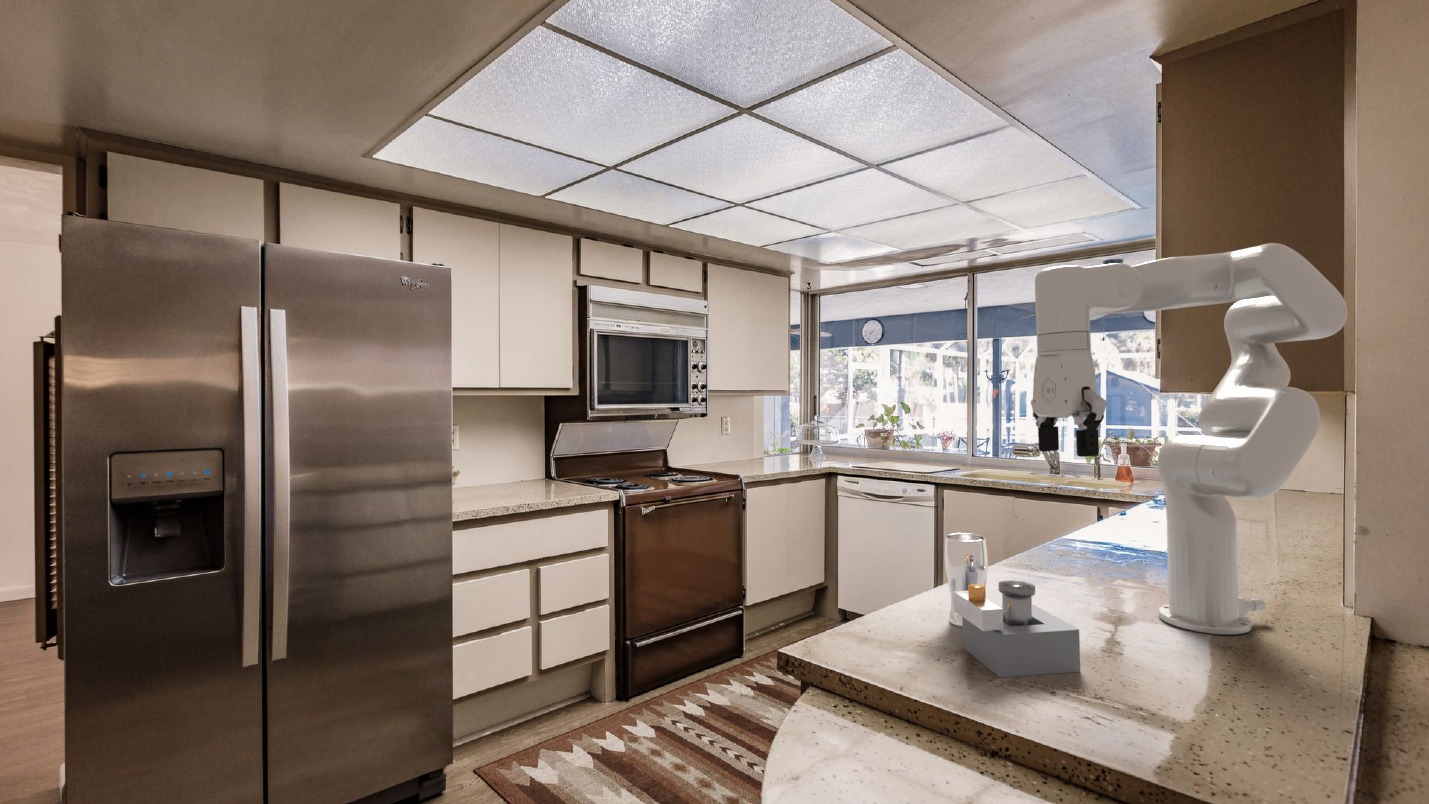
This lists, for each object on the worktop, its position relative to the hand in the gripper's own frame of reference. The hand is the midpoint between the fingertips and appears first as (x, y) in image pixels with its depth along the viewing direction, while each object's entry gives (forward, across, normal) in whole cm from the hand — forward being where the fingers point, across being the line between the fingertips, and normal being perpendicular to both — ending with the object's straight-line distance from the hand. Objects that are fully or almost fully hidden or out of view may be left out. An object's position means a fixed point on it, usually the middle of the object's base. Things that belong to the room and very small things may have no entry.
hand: (1067, 453), depth 104 cm
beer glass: (+30, -11, -12) cm, 34 cm away
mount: (+30, +5, -12) cm, 33 cm away
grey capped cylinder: (+29, +5, -12) cm, 32 cm away
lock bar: (+24, +5, -18) cm, 30 cm away
